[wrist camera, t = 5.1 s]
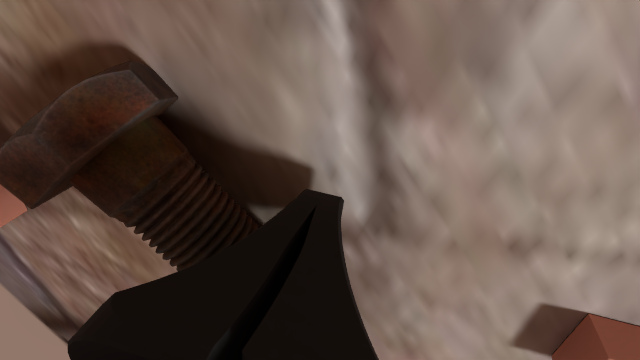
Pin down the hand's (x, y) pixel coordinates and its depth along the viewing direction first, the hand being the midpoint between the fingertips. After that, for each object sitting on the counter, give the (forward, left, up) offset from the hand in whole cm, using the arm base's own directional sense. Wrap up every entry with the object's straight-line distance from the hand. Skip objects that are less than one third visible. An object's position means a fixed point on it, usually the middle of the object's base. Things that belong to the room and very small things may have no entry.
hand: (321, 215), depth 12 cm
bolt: (-3, +3, -2) cm, 5 cm away
